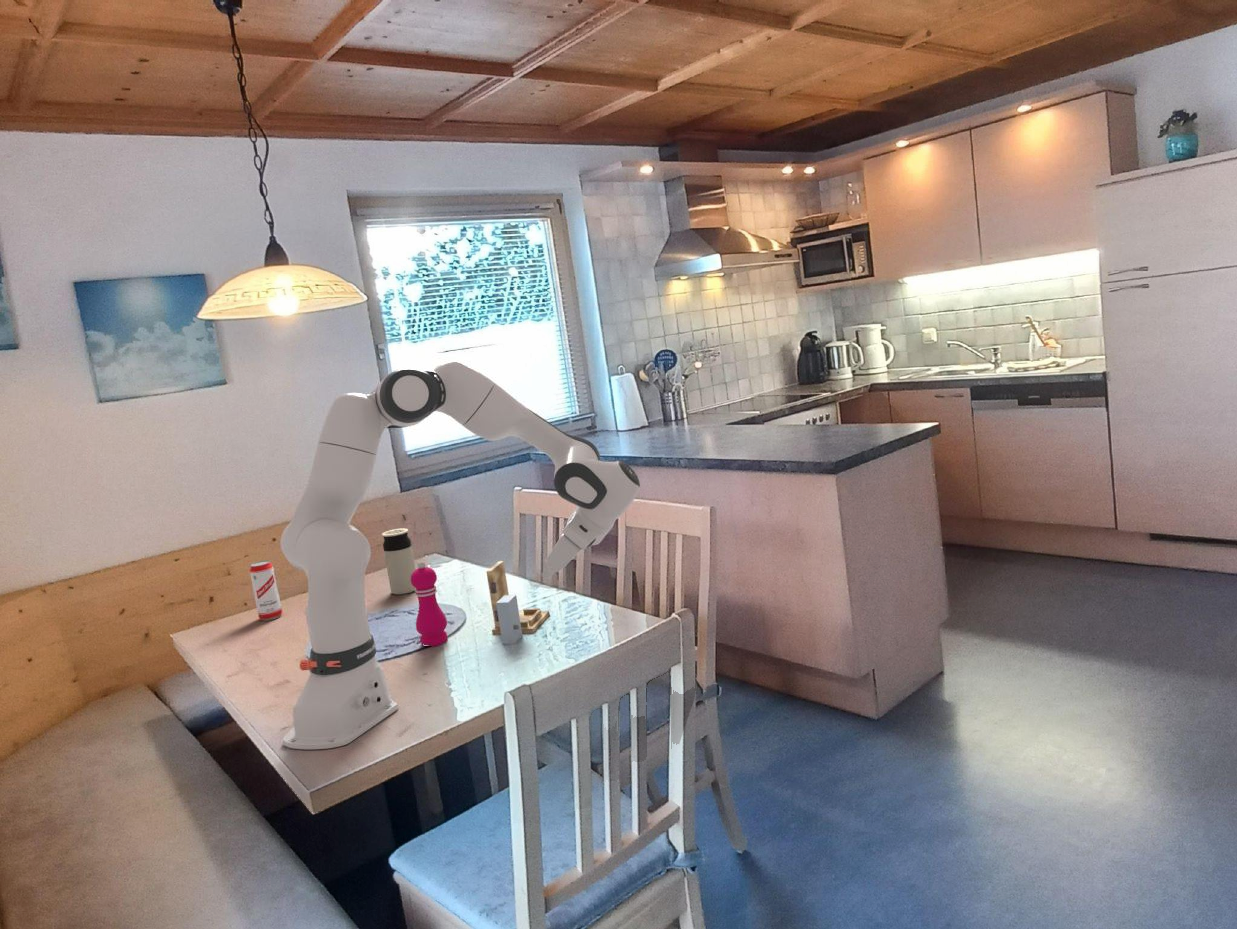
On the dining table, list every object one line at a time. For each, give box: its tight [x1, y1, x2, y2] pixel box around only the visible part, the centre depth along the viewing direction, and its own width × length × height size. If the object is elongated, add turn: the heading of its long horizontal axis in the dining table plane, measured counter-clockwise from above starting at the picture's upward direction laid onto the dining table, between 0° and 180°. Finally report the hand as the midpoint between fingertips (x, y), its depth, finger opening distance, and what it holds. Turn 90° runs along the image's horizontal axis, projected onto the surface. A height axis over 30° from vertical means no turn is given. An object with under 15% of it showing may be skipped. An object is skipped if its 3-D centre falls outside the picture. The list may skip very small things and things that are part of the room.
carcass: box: [486, 560, 550, 635], centre depth 201 cm, size 12×10×15 cm
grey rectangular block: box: [496, 594, 523, 645], centre depth 192 cm, size 5×4×10 cm
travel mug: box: [381, 527, 417, 596], centre depth 243 cm, size 8×8×18 cm
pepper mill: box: [411, 560, 448, 647], centre depth 196 cm, size 7×7×20 cm
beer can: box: [249, 560, 283, 622], centre depth 234 cm, size 6×6×16 cm
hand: (552, 570), depth 187 cm, fingers open, 8 cm apart
